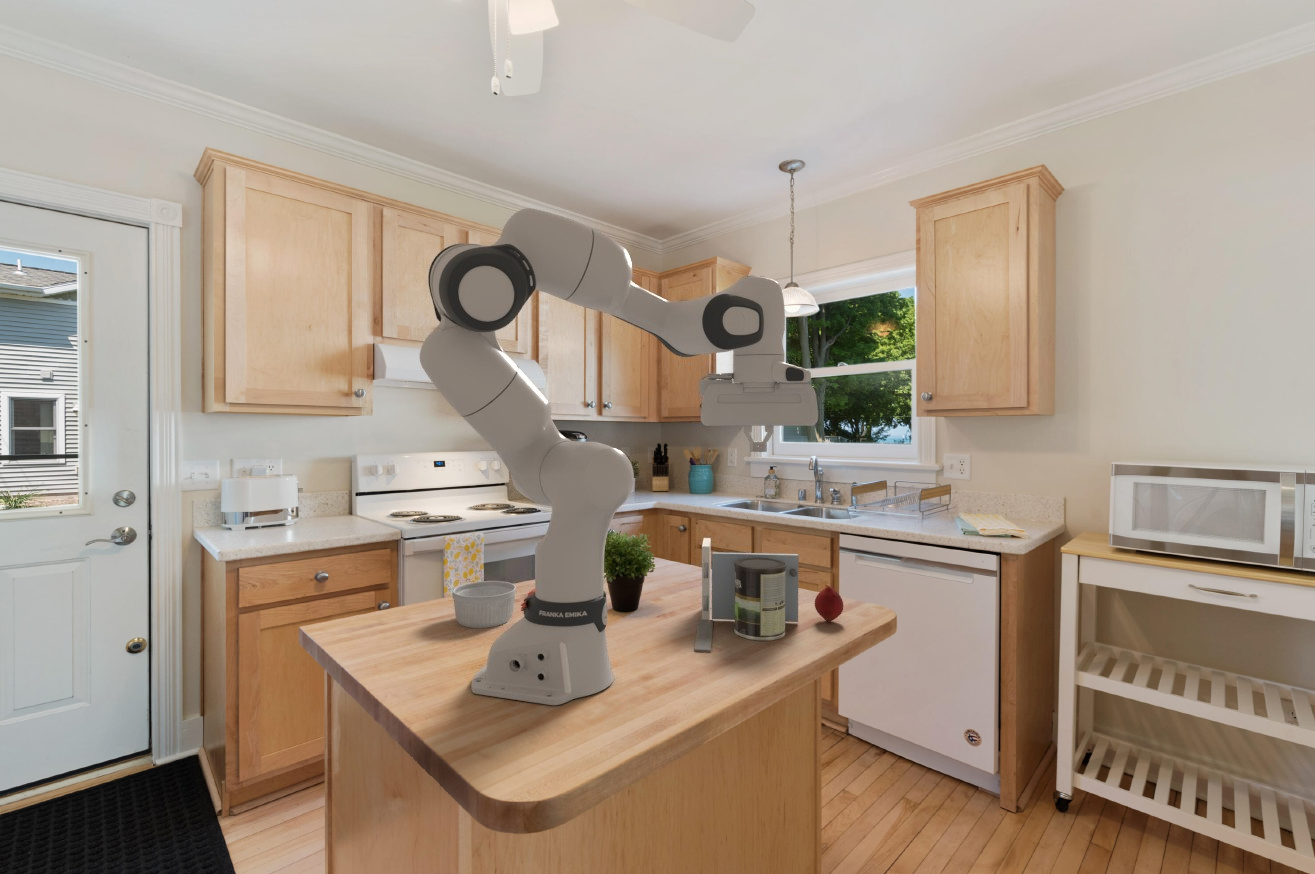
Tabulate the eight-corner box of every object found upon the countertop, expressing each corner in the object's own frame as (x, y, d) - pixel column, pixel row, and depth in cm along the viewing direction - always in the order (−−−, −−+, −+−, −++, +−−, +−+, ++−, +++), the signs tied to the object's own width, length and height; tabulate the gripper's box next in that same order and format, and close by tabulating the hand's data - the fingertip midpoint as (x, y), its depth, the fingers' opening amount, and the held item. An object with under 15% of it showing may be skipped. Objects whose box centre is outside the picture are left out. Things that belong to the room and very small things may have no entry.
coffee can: (733, 639, 120) (733, 567, 120) (734, 623, 130) (734, 556, 130) (787, 642, 119) (787, 569, 119) (784, 625, 129) (784, 558, 129)
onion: (840, 617, 134) (840, 581, 134) (845, 626, 128) (845, 588, 128) (812, 617, 135) (812, 580, 134) (817, 625, 129) (817, 587, 129)
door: (711, 621, 130) (711, 554, 130) (711, 617, 133) (712, 552, 133) (798, 624, 128) (799, 556, 128) (797, 620, 131) (797, 554, 131)
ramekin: (526, 623, 131) (525, 590, 131) (463, 634, 123) (463, 600, 123) (503, 608, 142) (503, 577, 142) (444, 618, 134) (444, 586, 134)
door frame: (694, 651, 114) (694, 564, 114) (700, 607, 142) (700, 537, 141) (710, 651, 114) (710, 565, 113) (713, 608, 141) (713, 538, 141)
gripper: (697, 373, 106) (698, 453, 107) (820, 371, 104) (819, 453, 105) (699, 373, 112) (700, 449, 114) (815, 372, 110) (814, 449, 111)
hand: (758, 451), depth 109 cm, fingers closed
